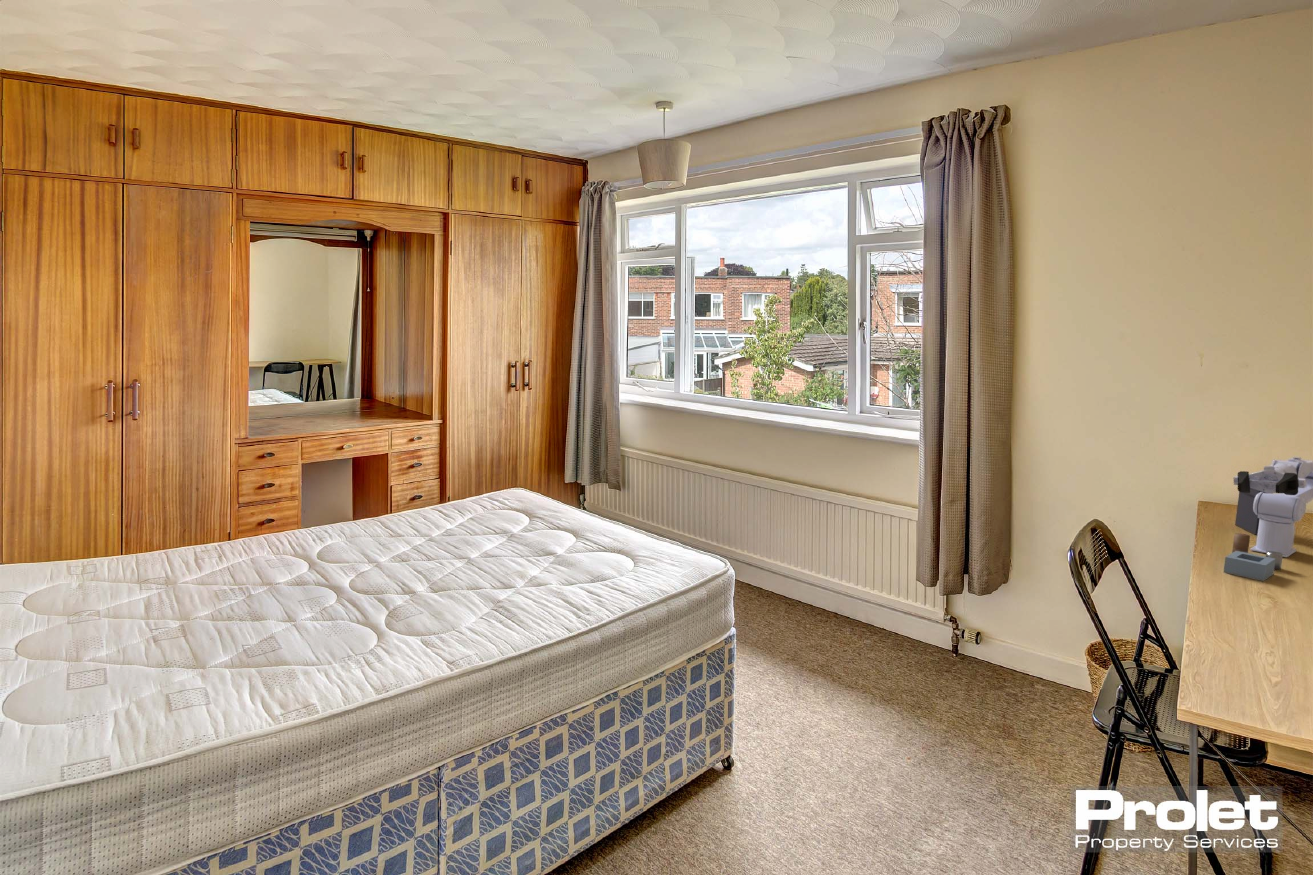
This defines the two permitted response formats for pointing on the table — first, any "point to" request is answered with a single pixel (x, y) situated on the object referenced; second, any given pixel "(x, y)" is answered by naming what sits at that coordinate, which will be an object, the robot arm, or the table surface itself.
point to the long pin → (1241, 542)
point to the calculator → (1247, 512)
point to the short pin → (1277, 557)
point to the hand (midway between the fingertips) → (1258, 488)
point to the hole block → (1249, 565)
